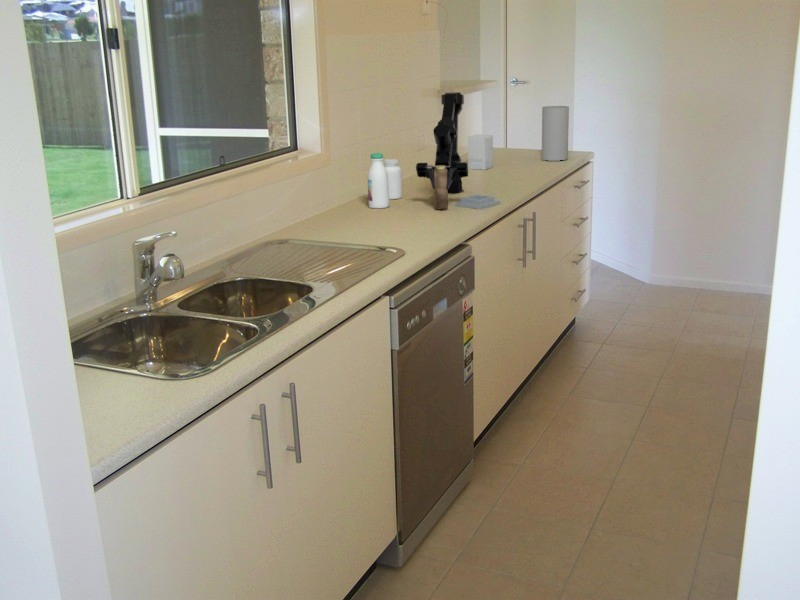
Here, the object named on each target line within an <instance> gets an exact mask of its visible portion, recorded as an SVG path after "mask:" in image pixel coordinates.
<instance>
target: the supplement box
mask: <svg viewBox="0 0 800 600" xmlns="http://www.w3.org/2000/svg"><path fill="white" fill-rule="evenodd" d="M467 164H468V170H480V169H481V170H483V171H484V170H488V169H491V168H493V167H494V135H493V134H474V135H470V136H467Z"/></svg>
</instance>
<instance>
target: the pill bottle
mask: <svg viewBox="0 0 800 600" xmlns="http://www.w3.org/2000/svg"><path fill="white" fill-rule="evenodd" d="M383 160H384V162H383V164H384V167H385V169H386V171H387V174H388V186H389V200H398V199H402V198H403V180H402V179H403V177H402V174H403V173H402V168H401V166H399V160H398V159H396V158H388V159H387V158H386V159H383Z"/></svg>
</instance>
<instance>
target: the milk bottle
mask: <svg viewBox="0 0 800 600" xmlns="http://www.w3.org/2000/svg"><path fill="white" fill-rule="evenodd" d="M370 160H371V163H370V167H369V170H368V173H367V193H368V195H367V197H368V198H367V199H368V207H369V208H370V209H386V208H388V207H389V206H390V199H389V186H388V174H387V171H386V169H385V165H384V162H383V160H384V154H383V153H382V152H376V153H375V152H374V153H370Z"/></svg>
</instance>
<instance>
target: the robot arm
mask: <svg viewBox="0 0 800 600" xmlns="http://www.w3.org/2000/svg"><path fill="white" fill-rule="evenodd" d="M464 104H465V96H464V94H462V93H461V92H460V91H459V92H445V93H444V94H441V105H443V108H442V115H441V119H440V120H439V121H438V122H437V124H436V126H435V127H433V138H434V140H435V141H434V142H435V144H436V149H435V150H436V152H435V160H434V165H432V164H428V162H418V163H416V165H415V170H416V174H417V177H419V178H426V179H429V180H430V183H431V188H432V190H434V169H436V167H435V166H437V165H445V168H446V169H447V189H448V194H452V193H453V194H459V193H462V192H464V191H465V190H464V189H463V181H462V178H467V177H469V169H468V162H464V161H463V162H462V158H461V156H460V155H459V153H458V150H459V149H458V144H459V143H458V141H459V115H460V113H461V112H462V111H463V105H464Z"/></svg>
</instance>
